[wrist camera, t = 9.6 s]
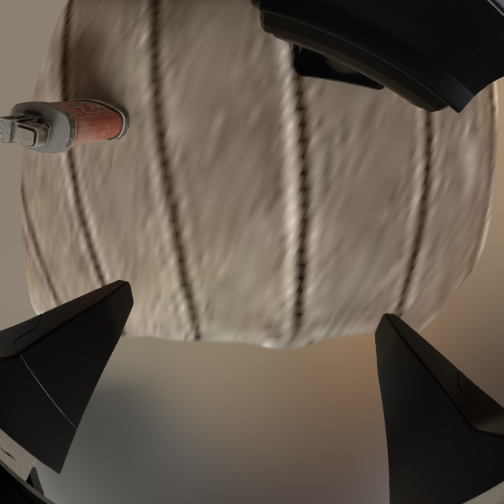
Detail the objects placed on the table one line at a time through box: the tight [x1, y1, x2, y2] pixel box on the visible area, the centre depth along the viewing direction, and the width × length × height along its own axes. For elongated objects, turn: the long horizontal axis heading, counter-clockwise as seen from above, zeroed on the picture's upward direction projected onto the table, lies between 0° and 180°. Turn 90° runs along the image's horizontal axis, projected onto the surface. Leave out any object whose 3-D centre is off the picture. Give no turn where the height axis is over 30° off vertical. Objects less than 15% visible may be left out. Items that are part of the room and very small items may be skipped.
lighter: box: [0, 99, 130, 153], centre depth 14 cm, size 8×3×10 cm, turn 68°
